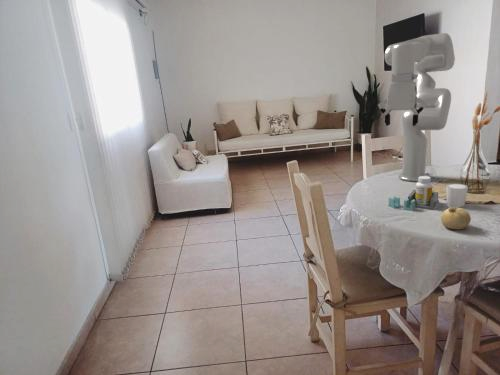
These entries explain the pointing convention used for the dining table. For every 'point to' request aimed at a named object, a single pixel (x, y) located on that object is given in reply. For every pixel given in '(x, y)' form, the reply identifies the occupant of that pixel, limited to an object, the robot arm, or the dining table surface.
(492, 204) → the dining table surface
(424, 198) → the supplement bottle
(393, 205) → the clip
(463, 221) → the onion
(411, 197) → the holder
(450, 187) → the white cup
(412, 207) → the clip
